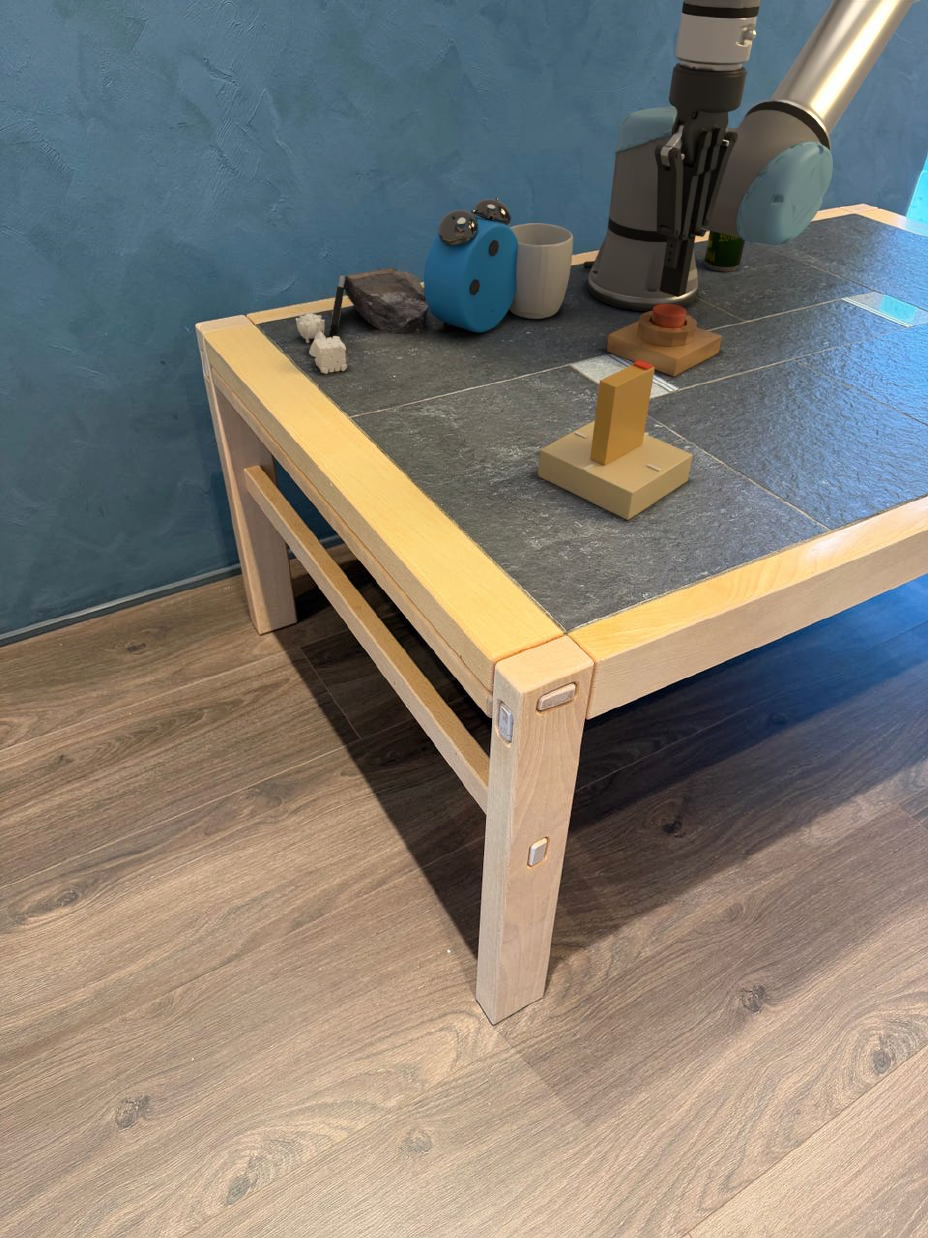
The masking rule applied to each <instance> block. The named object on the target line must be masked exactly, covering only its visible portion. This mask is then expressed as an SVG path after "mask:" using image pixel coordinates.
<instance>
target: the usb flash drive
mask: <svg viewBox="0 0 928 1238" xmlns="http://www.w3.org/2000/svg"><path fill="white" fill-rule="evenodd" d="M345 277H346V275H342V274H341V275H339V281H338V286H337V287H336V292H335V297H334V301H333V308H332V313H331V320H330V326H329V327H330V329H329V333H328V335H329V337H331V338H332V337H333V336H337V335H338V329H339V326H340V320H341V313H342V306H343V299H344V294H345V289H344V286H343V285H344V282H345Z"/></svg>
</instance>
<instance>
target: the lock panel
mask: <svg viewBox="0 0 928 1238" xmlns="http://www.w3.org/2000/svg"><path fill="white" fill-rule="evenodd" d="M594 423H595V420H593V421H590V422H589V423H587V424H585V425H583V426H581V427H580V428H577V429H576V430H574V431H572V432H570V433H568V434H567V435H565V436H563V437H560V438H559V439H557V440H556V441H553V442H552V443H550V444H548V445H546V446H544V447H542V448H540V450H539V456H538V457H539V459H538V469H537V470H538V471H537V476H538V477H539V478H541V479H543V480H545V481H547V482H549V483H551V484H553V485H556V486H557V487H559V488H561V489H563V490H565V491H567V492H570V493H572V494H574V495H575V496H578V497H580V498H582V499H584V500H586V501H587V502H590V503H591V504H594V505H596V506H598V507H600V508H602V509H604V510H606V511H608V512H610V513H613V514H614V515H616V516H618V517H620V518H623V519H625V520H627V521H628V520H630V519H632V518H633V517H635V516H636V515H638V514H640V513H641V512H642V511H644V510H646V509H647V508H649V507H651V506H652V505H653V504H654V503H656V502H657V501H659V500H661V499H662V498H664V497H665V496H667V495H668V494H670V493H672V492H673V491H675V490H676V489H678V488H680V487H681V486H682V485H684V484H686V483H687V482H688V481H689V476H690V471H691V467H692V462H693V457H694V454H693V453H690V452H689V451H686V450H684V449H681V448H680V447H677V446H674V445H672V444H669V443H667V442H665V441H662V440H660V439H658V438H655V437H653V436H651V435H649V434H650V433H649V432H647V431H644V437H643V443H642V445H640V446H638V447H636V448H635V449H633V450H631V451H629V452H628V453H626V454H624V455H622V456H620V457H619V458H617V459H615V460H613V461H612V462H610V463H608V464H606V465H603V464H601V463H599V462H596V461H594V460H592V459H590V456H591V448H592V440H593V431H594Z"/></svg>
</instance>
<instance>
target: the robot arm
mask: <svg viewBox="0 0 928 1238" xmlns="http://www.w3.org/2000/svg"><path fill="white" fill-rule="evenodd" d="M921 1H922V0H832V2H831V4H830V5H829V7H828V8H827V10H826V11H825V13H824V15H823V16H822V17H821V19H820V21H819V22H818V24H817V25H816V27H815V28H814V30H813V31H812V33H811V35H810V37H809V38H808V40H807V41H806V43H805V44H804V46H803V48H802V49H801V51H800V52H799V54H798V55H797V57H796V58H795V59H794V61H793V63H792V65H791V66H790V68H788V71H787V72H786V73H785V75H784V77H783V79H782V80H781V82H780V83H779V85H778V86H777V88H776V89H775V91H774V93H773V95H772V96H771V98H770V99H765V100H761V101H759V102H757V103H755V104H754V105H752V106H751V107H750V109H749V110H748V111H747V112H746V114H745V115H744V117H743V118H742V120H741V122H740V123H739V125H738V126H737V127H728V125H729V113H730V112H734V111H735V110H737V109H739V108H740V106H741V105H742V102H743V101H742V100H743V95H744V91H745V85H746V80H747V75H748V71H747V70H746V68H745V67H744V66H743V64H746V62H748V61H749V60H750V56H751V50H752V46H753V41H754V40H755V39H756V37H757V31H756V24H757V19H758V16H759V10H760V5H761V0H683V1H682V7H681V12H680V19H679V25H678V31H677V38H676V44H675V50H674V57H675V58H676V59H677V60H679V62H677V63H676V64H675V66H673V67H672V73H671V80H670V86H669V94H668V102H669V104H670V105H671V106H661V107H652V108H645V109H640V110H637V111H633V112H631V113H629V114H628V115H627V116H625V117H624V118H623V120H622V121H621V124H620V126H619V132H618V136H617V142H616V147H615V148H614V154H615V158H614V165H613V166H614V168H613V174H612V175H613V176H612V182H611V183H612V184H611V194H610V201H609V202H610V203H609V210H608V211H609V212H608V220H607V221H608V223H607V230H606V234H605V236H604V239H603V241H602V243H601V246H600V248H599V250H598V252H597V255H596V257H595V259H594V261H593V260H592V261H584V263H583V268H584V269H586V270H587V269H590V271H589V274H588V282H587V290H588V293H590V295H591V296H592V297H594V298H595V299H597V300H598V301H600V302H602V303H605V304H607V305H609V306H613V307H617V308H621V309H626V310H633V311H641V312H648V311H653V308H654V307H655V306H656V305H660V304H674V305H678V306H681V307H683V308H684V307H686V306H688V305H690V304H691V303H693V302H694V301H695V300H696V297H697V291H698V287H699V278H698V268H697V263H696V255H695V249H694V247H695V244H696V243H695V242H696V237H700V238H703V237H705V236H706V233H707V231H709V232H710V231H714V232H718V233H722V234H726V235H730V236H734V237H738V238H742V239H743V240H745V242H746V243H747V242H748V243H751V244H752V243H754V244H765V245H771V246H780V245H783V244H787V243H789V242H791V241H793V240H795V239H796V238H797V237H798V236H800V235H801V233H803V232H804V231H805V229H807V227H808V226H809V225H810V224H811V222H812V221H813V219H814V218H815V217H816V215H817V213H818V212H819V210H820V208H821V207H822V204H823V202H824V200H823V198H824V196H825V194H827V193H828V190H829V187H830V185H831V181H832V178H833V177H832V176H833V171H834V158H833V155H832V153H831V152H832V142H831V137H830V136H831V134H832V132H833V130H834V129H835V127H837V124H838V122H839V121H840V119H841V118H842V116H843V114H844V113H845V111H846V110H847V108H848V106H849V105H850V104H851V102H852V100H853V98H854V97H855V96H856V94H857V92H858V91H859V89H860V88H861V86H862V84H863V83H864V81H865V80H866V78H867V77H868V75H869V73H870V71H871V70H872V68H873V67H874V66H875V64H876V62H877V60H878V59H879V57H880V56H881V55H882V53H883V51H884V50H885V48H886V46H887V44H888V43H889V42H890V40H891V39H892V37H893V35H894V33H895V32H896V31H897V29H898V27H899V26H900V24H901V23H902V21H903V19H904V18H905V16H906V15H907V13H908V11H909V10H910V8H911V7H912V6H913V4H916V3H918V2H921Z"/></svg>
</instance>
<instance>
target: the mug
mask: <svg viewBox="0 0 928 1238" xmlns="http://www.w3.org/2000/svg"><path fill="white" fill-rule="evenodd" d="M510 228H511V229H512V231H513V232H514V234H515V235H516V237H517V240H518V254H517V291H516V294H515V297H514V299H513V302H512V304H511V306H510V308H509V311H510V312H511V313H512V314H513V315H516V316H517V317H520V318H524V319H532V320H542V319H545V318H551V317H553V316H555V315H556V314H557V313H558V312H559V310H560V309H561V306H562V304H563V302H564V300H565V296H566V292H567V289H568V284H569V280H570V276H571V275H570V274H571V268H572V261H573V247H574V237H573V232H571V231H570V230H568V229H567V228H565V227H562V226H559V225H556V224H549V223H538V222H537V223H536V222H530V223H528V222H527V223H522V224H518V225H517V224H516V225H513V226H510Z"/></svg>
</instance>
